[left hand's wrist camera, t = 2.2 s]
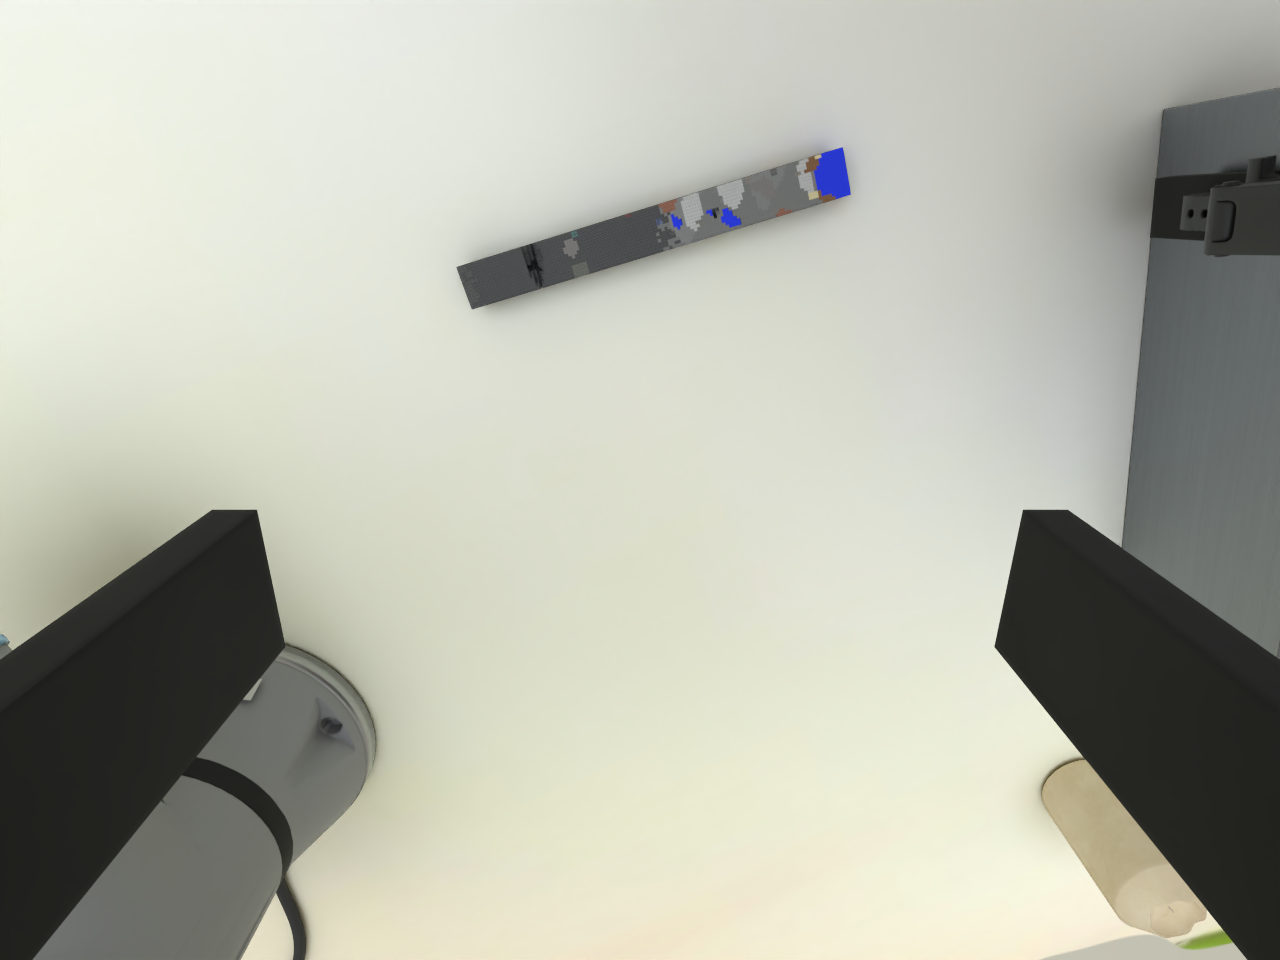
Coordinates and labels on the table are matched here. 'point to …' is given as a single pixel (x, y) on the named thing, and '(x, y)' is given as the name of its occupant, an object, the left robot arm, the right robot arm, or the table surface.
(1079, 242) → the table surface
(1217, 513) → the box
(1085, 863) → the candle
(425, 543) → the table surface
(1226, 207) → the right robot arm
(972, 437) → the table surface
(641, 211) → the pillar
